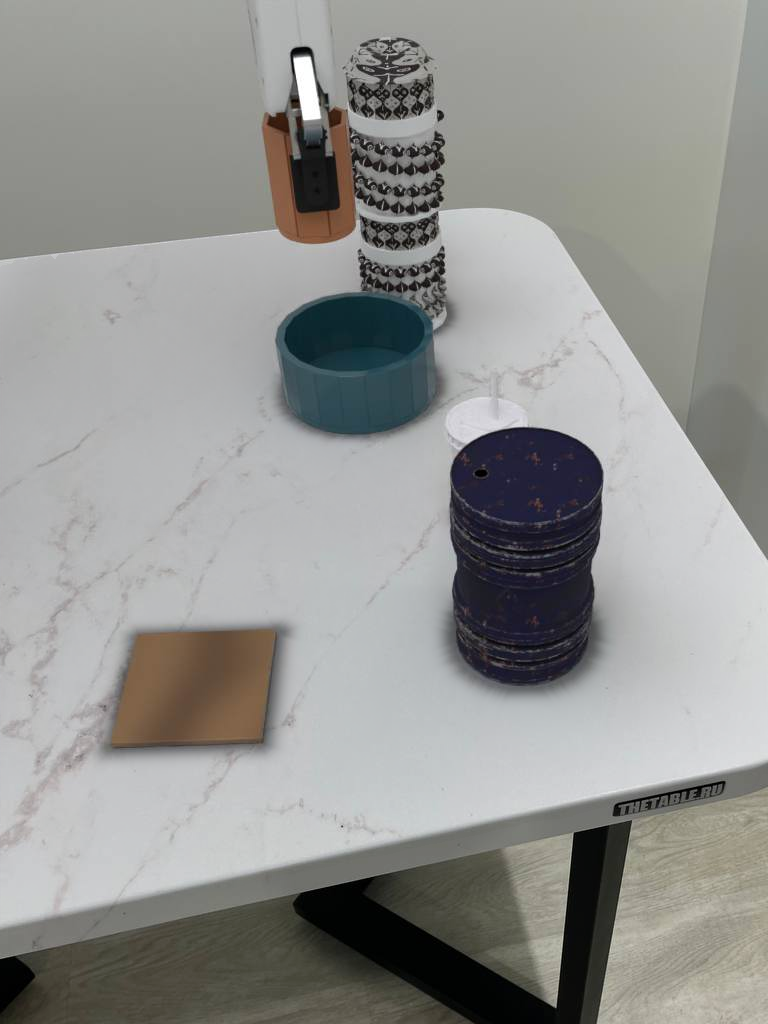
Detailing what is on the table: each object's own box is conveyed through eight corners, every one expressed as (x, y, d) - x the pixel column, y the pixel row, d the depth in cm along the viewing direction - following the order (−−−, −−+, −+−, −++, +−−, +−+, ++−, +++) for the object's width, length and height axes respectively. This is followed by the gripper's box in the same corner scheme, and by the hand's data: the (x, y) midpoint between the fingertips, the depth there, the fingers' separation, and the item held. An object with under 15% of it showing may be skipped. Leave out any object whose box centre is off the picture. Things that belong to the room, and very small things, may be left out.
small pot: (275, 245, 79) (259, 135, 73) (281, 209, 83) (266, 102, 77) (355, 243, 79) (345, 134, 73) (357, 207, 83) (348, 101, 77)
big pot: (278, 436, 93) (268, 378, 89) (292, 350, 103) (283, 293, 98) (436, 432, 93) (433, 373, 89) (435, 346, 103) (432, 289, 98)
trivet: (111, 748, 70) (109, 743, 70) (139, 637, 77) (137, 633, 76) (262, 742, 70) (260, 738, 70) (276, 633, 77) (275, 628, 76)
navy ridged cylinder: (585, 587, 80) (600, 425, 69) (595, 686, 73) (613, 524, 62) (454, 588, 80) (448, 426, 69) (452, 687, 73) (445, 525, 62)
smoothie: (527, 545, 83) (533, 395, 73) (447, 546, 83) (440, 396, 73) (525, 493, 87) (529, 345, 77) (448, 494, 87) (442, 345, 77)
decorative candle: (365, 291, 110) (340, 27, 92) (453, 292, 110) (445, 28, 91) (354, 338, 104) (325, 66, 85) (447, 339, 104) (438, 66, 85)
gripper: (211, -124, 71) (253, 147, 84) (227, -53, 60) (273, 248, 73) (321, -130, 72) (346, 138, 85) (358, -62, 61) (380, 236, 74)
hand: (312, 186), depth 79 cm, fingers closed on small pot, 6 cm apart
